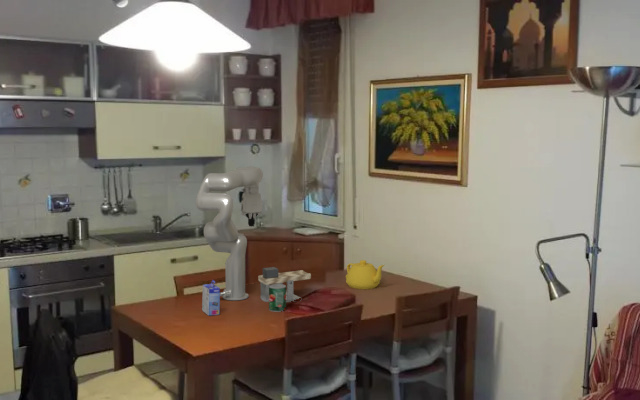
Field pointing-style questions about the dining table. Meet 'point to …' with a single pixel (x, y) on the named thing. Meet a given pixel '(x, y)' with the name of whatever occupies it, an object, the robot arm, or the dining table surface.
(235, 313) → the dining table surface
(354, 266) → the teapot
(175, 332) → the dining table surface
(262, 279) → the balance beam
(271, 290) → the canned tomato
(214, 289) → the ink cartridge box
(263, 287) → the beam stand
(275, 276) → the block
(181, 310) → the dining table surface
